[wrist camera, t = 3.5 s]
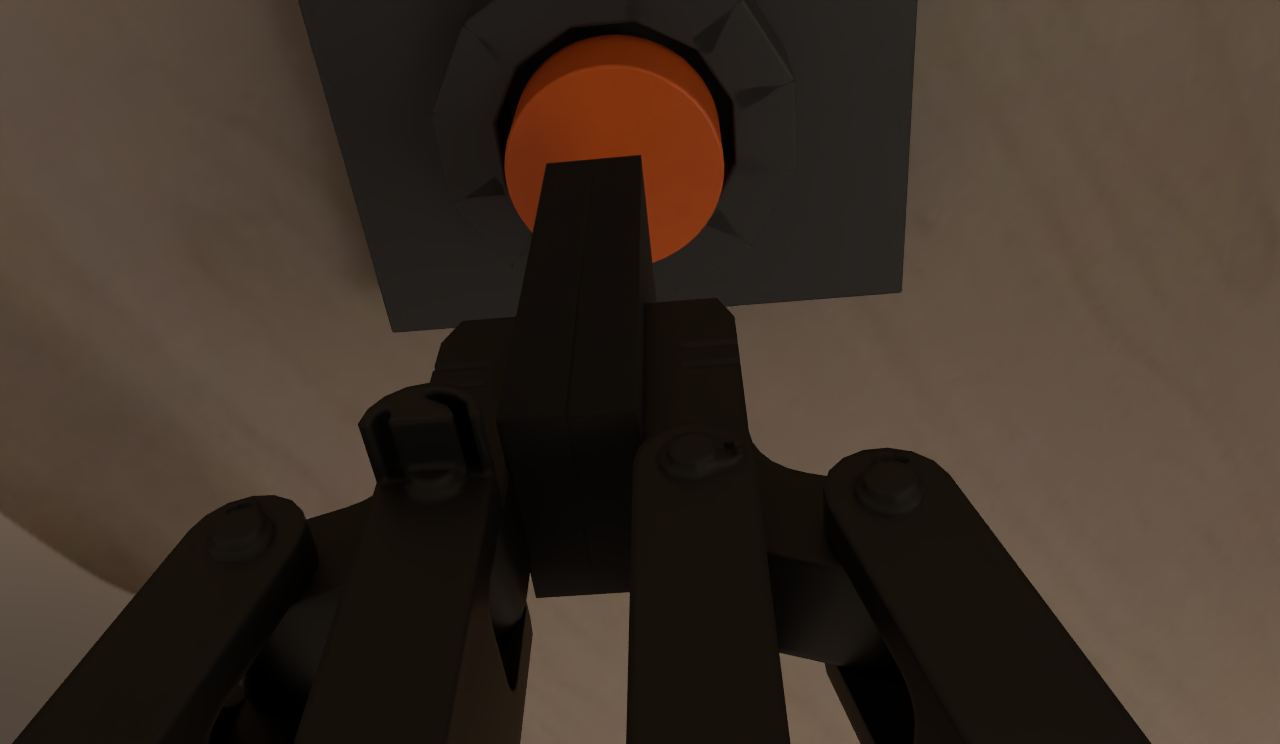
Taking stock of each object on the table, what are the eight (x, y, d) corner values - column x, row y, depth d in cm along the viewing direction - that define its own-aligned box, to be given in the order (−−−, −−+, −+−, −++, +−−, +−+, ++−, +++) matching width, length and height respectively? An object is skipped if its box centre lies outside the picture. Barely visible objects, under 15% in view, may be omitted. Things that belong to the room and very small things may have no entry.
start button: (713, 22, 19) (718, 54, 17) (724, 219, 21) (729, 261, 20) (497, 44, 19) (485, 76, 18) (532, 235, 21) (523, 278, 20)
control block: (904, -212, 20) (952, -182, 17) (884, 247, 26) (918, 336, 22) (296, -144, 21) (228, -104, 17) (409, 286, 26) (375, 377, 23)
